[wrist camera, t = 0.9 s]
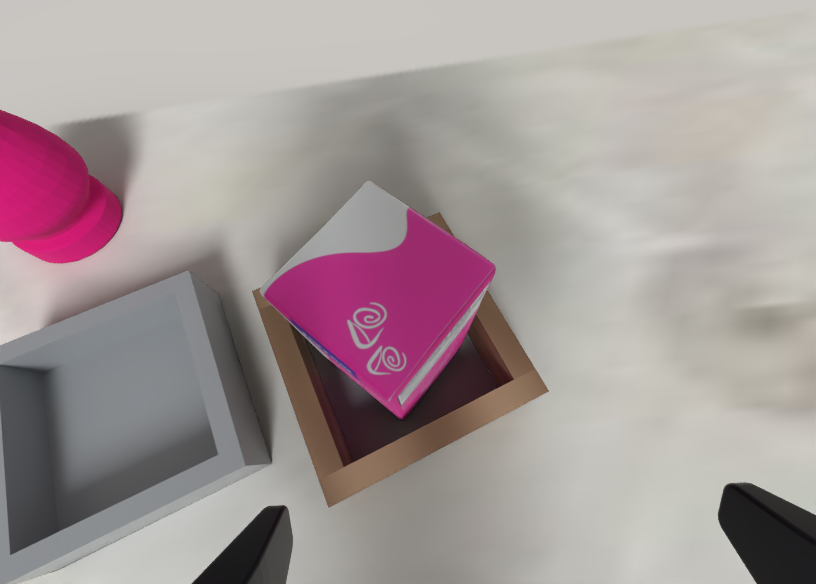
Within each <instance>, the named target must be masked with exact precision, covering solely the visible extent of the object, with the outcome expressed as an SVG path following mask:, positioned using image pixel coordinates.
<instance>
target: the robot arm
mask: <svg viewBox="0 0 816 584" xmlns="http://www.w3.org/2000/svg"><path fill="white" fill-rule="evenodd" d="M718 520H719V523H720V525H721V528H722V529H723V531H724V533H725V534H726V536H727V537H728V539H729V541H730V542H731V544H732V545H733V547H734V548H735V550H736V552H737V553H738V555H739V556H740V558H741V560H742V561H743V563H744V564H745V566H746V567H747V569H748V571H749V572H750V574H751V575H752V577H753V579H754V580H755V582H756V583H757V584H816V515H814V514H812V513H810V512H808V511H806V510H804V509H802V508H800V507H798V506H796V505H794V504H792V503H790V502H788V501H786V500H784V499H782V498H780V497H778V496H776V495H774V494H772V493H770V492H768V491H766V490H764V489H762V488H759V487H757V486H755V485H753V484H751V483H729V484H727V485H726V486H725V487H724V490H723V494H722V498H721V502H720V507H719V511H718ZM292 546H293V535H292V529H291V523H290V517H289V511H288V508H287V507H286V506H284V505H280V506H268V507H266V508H264V509H263V510H262V511H261V512H260V513H259V514H258V515H257V516H256V517H255V518H254V520H253V521H252V522H251V523H250V524H249V525H248V526H247V527H246V528H245V529H244V530H243V531H242V532H241V533H240V534H239V535H238V536H237V537H236V538H235V539H234V540H233V541H232V542H231V543H230V544H229V545H228V547H227V548H226V549H225V550H224V551H223V552H222V553H221V554H220V555H219V556H218V557H217V558H216V559H215V560H214V561H213V562H212V563H211V564H210V565H209V566H208V567H207V568H206V569H205V570H204V571H203V573H202V574H201V575H200V576H199V577H198V578H197V579H196V580H195V581H194V582H193V583H192V584H286V579H287V574H288V569H289V563H290V558H291V553H292Z"/></svg>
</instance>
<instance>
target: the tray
mask: <svg viewBox="0 0 816 584" xmlns="http://www.w3.org/2000/svg"><path fill="white" fill-rule="evenodd" d="M270 464H272V463H271V460H270V457H269V454H268V450H267V447H266V444H265V441H264V438H263V435H262V431H261V428H260V425H259V422H258V419H257V416H256V412H255V409H254V406H253V403H252V400H251V396H250V393H249V390H248V387H247V384H246V381H245V377H244V374H243V371H242V368H241V365H240V362H239V358H238V355H237V352H236V349H235V346H234V343H233V339H232V336H231V333H230V330H229V327H228V324H227V320H226V317H225V314H224V311H223V308H222V304H221V301H220V298H219V295H218V293H216V292H215V291H214V290H213V289H212V288H210V287H209V286H208V285H207V284H205V283H204V282H203V281H202V280H200V279H199V278H198V277H197V276H196V275H194V274H193V273H192V272H191V271H189V270H187V271H185V272H182V273H180V274H177V275H175V276H172V277H170V278H167V279H165V280H162V281H160V282H157V283H155V284H152V285H150V286H147V287H145V288H142V289H140V290H137V291H135V292H132V293H130V294H127V295H125V296H122V297H120V298H117V299H115V300H112V301H110V302H107V303H105V304H103V305H100V306H98V307H95V308H93V309H90V310H88V311H85V312H83V313H80V314H78V315H75V316H73V317H70V318H68V319H65V320H63V321H60V322H58V323H55V324H53V325H50V326H48V327H45V328H43V329H40V330H38V331H35V332H33V333H30V334H28V335H25V336H23V337H20V338H18V339H15V340H13V341H10V342H8V343H5V344H3V345H0V584H17V583H20V582H23V581H26V580H29V579H32V578H36V577H39V576H42V575H45V574H48V573H51V572H54V571H57V570H59V569H61V568H63V567H65V566H67V565H69V564H71V563H73V562H75V561H77V560H79V559H81V558H83V557H85V556H87V555H90V554H92V553H94V552H96V551H98V550H100V549H102V548H104V547H106V546H108V545H110V544H112V543H114V542H116V541H118V540H120V539H122V538H124V537H126V536H128V535H130V534H132V533H134V532H136V531H138V530H140V529H142V528H144V527H146V526H148V525H150V524H152V523H154V522H156V521H158V520H160V519H162V518H164V517H166V516H168V515H170V514H172V513H174V512H176V511H178V510H180V509H182V508H184V507H186V506H188V505H190V504H192V503H194V502H196V501H198V500H200V499H202V498H204V497H206V496H208V495H210V494H212V493H214V492H216V491H218V490H220V489H222V488H224V487H226V486H228V485H230V484H232V483H234V482H236V481H238V480H240V479H242V478H244V477H246V476H248V475H250V474H252V473H254V472H256V471H258V470H260V469H262V468H264V467H266V466H268V465H270Z"/></svg>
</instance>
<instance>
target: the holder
mask: <svg viewBox="0 0 816 584" xmlns="http://www.w3.org/2000/svg"><path fill="white" fill-rule="evenodd" d="M427 219H429V220H430V221H432V222H433V223H435V224H436V225H438V226H439V227H441V228H442V229H444V230H445V231H447V232H448V233H449V234H451V235H452V236H454V235H453V234H452V232H451V230H450V229H449V227H448V226H447V224H446V222H445V221H444V219H443V217H442V216H441V214H440V212H439V213H437V214H435V215H432V216H430V217H427ZM260 289H261V288H259V289H256V290H254V291H252V292H253V295H254V298H255V301H256V304H257V306H258V309H259V312H260V315H261V318H262V321H263V323H264V326H265V329H266V332H267V335H268V338H269V340H270V343H271V346H272V349H273V352H274V355H275V357H276V360H277V363H278V366H279V369H280V372H281V374H282V377H283V380H284V383H285V386H286V388H287V391H288V394H289V397H290V400H291V403H292V405H293V408H294V411H295V414H296V417H297V420H298V422H299V425H300V428H301V431H302V434H303V437H304V439H305V442H306V445H307V448H308V451H309V454H310V456H311V459H312V462H313V465H314V468H315V471H316V473H317V476H318V479H319V482H320V485H321V488H322V490H323V493H324V496H325V499H326V502H327V505H328V507H331V506H333V505H335V504H337V503H338V502H340V501H342V500H344V499H346V498H348V497H350V496H352V495H354V494H355V493H357V492H359V491H361V490H363V489H365V488H367V487H369V486H371V485H372V484H374V483H376V482H378V481H380V480H382V479H384V478H386V477H388V476H389V475H391V474H393V473H395V472H397V471H399V470H401V469H403V468H405V467H407V466H408V465H410V464H412V463H414V462H416V461H418V460H420V459H422V458H424V457H425V456H427V455H429V454H431V453H433V452H435V451H437V450H439V449H441V448H442V447H444V446H446V445H448V444H450V443H452V442H454V441H456V440H458V439H459V438H461V437H463V436H465V435H467V434H469V433H471V432H473V431H475V430H476V429H478V428H480V427H482V426H484V425H486V424H488V423H490V422H492V421H493V420H495V419H497V418H499V417H501V416H503V415H505V414H507V413H509V412H510V411H512V410H514V409H516V408H518V407H520V406H522V405H524V404H526V403H527V402H529V401H531V400H533V399H535V398H537V397H539V396H541V395H543V394H544V393H546V392H548V391H549V390H548V389H547V387H546V385H545V384H544V382H543V381H542V379H541V377H540V376H539V374H538V372H537V371H536V369H535V368H534V366H533V364H532V363H531V361H530V359H529V358H528V356H527V354H526V353H525V351H524V350H523V348H522V346H521V345H520V343H519V341H518V340H517V338H516V337H515V335H514V333H513V332H512V330H511V328H510V327H509V325H508V323H507V322H506V320H505V319H504V317H503V315H502V314H501V312H500V310H499V309H498V307H497V306H496V304H495V302H494V301H493V299H492V297H491V296H490V294H489V292H488V291H486V293H485V295H484V297H483V299H482V302H481V304H480V306H479V308H478V310H477V313H476V315H475V317H474V319H473V321H472V323H471V325H470V327H469V330H468V332H467V333H468V335H469V337H470V339H471V340H472V342H473V344H474V346H475V347H476V349H477V351H478V353H479V355H480V356H481V358H482V360H483V362H484V363H485V365H486V367H487V369H488V370H489V372H490V374H491V376H492V378H493V379H494V381H495V383H496V385H497V386H498V388H497V389H495V390H493V391H491V392H489V393H487V394H485V395H483V396H481V397H479V398H478V399H476V400H474V401H472V402H470V403H468V404H466V405H464V406H462V407H460V408H458V409H456V410H454V411H452V412H450V413H448V414H446V415H445V416H443V417H441V418H439V419H437V420H435V421H433V422H431V423H429V424H427V425H425V426H423V427H421V428H419V429H417V430H415V431H413V432H412V433H410V434H408V435H406V436H404V437H402V438H400V439H398V440H396V441H394V442H392V443H390V444H388V445H386V446H384V447H382V448H380V449H378V450H377V451H375V452H373V453H371V454H369V455H367V456H365V457H363V458H361V459H359V460H357V461H355V462H353V460H352V457H351V454H350V452H349V449H348V447H347V444H346V442H345V439H344V437H343V434H342V432H341V429H340V426H339V424H338V421H337V419H336V416H335V414H334V411H333V409H332V406H331V403H330V401H329V398H328V396H327V393H326V391H325V388H324V386H323V383H322V380H321V378H320V375H319V373H318V370H317V368H316V365H315V363H314V360H313V357H312V355H311V352H310V350H309V347H308V345H307V342H306V340H305V337H304V336H303V335H302V334H301V333H300V332H299V331H298V330H297V329H296V328H295V327H294V326H293V325H292V324H291V323H290V322H289V321H288V320H287V319H286V318H285V317H284V316H283V315H282V314H281V313H279V312H278V311H277V310H276V309H275V308H274V307H273V306H272V305H271V304H270V303H269V302H268V301H267V300H266V299H265V298H264V297H263V296H262V295H261V294H260Z"/></svg>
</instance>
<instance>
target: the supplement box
mask: <svg viewBox="0 0 816 584" xmlns="http://www.w3.org/2000/svg"><path fill="white" fill-rule="evenodd" d="M495 271H496V266H495V265H494V264H493V263H491V262H490V261H489V260H487V259H486V258H485V257H483V256H482V255H480V254H479V253H477V252H476V251H474V250H473V249H472V248H470V247H469V246H467V245H466V244H464V243H463V242H461V241H460V240H458V239H457V238H455V237H454V236H452V235H451V234H449V233H448V232H447V231H445V230H444V229H442V228H441V227H439V226H438V225H436V224H435V223H433V222H432V221H430V220H429V219H427V218H425V217H424V216H423V215H421V214H420V213H418V212H417V211H415V210H414V209H412V208H410V207H409V206H408V205H406V204H405V203H403V202H401V201H400V200H398V199H397V198H395V197H394V196H392V195H390V194H389V193H388V192H386V191H385V190H383V189H382V188H380V187H379V186H377V185H376V184H374V183H373V182H371V181H370V180H368V181H366V182H365V183H364V184H363V185H362V186H361V188H360V189H359V190H358V191H357V192H356V193H355V194H354V195H353V196H352V197H351V198H350V199H349V200H348V201H347V202H346V203H345V204H344V205H343V206H342V207H341V208H340V210H339V211H338V212H337V213H336V214H335V215H334V216H333V217H332V218H331V219H330V220H329V221H328V222H327V223H326V224H325V225H324V226H323V227H322V228H321V229H320V230H319V231H318V232H317V233H316V234H315V235H314V236H313V237H312V238H311V239H310V240H309V241H308V242H307V243H306V244H305V245H304V246H303V247H302V248H301V249H300V250H299V251H298V252H297V253H296V254H295V255H294V256H293V257H292V258H291V259H290V260H289V261H288V262H287V263H286V264H285V265H284V266H283V267H282V268H281V269H280V270H278V271H277V272H276V273H275V274H274V275H273V276H272V277H271V279H270V280H268V281H267V282H266V283H265V284H264V285H263V286H262V287H261V289H260V294H261V295H262V296H263V297H264V298H265V299H266V300H267V301H268V302H269V303H270V304H271V305H272V306H273V307H274V308H275V309H276V310H277V311H278V312H279V313H281V314H282V315H283V316H284V317H285V318H286V319H287V320H288V321H289V322H290V323H291V324H292V325H293V326H294V327H295V328H296V329H297V330H298V331H299V332H300V333H301V334H302V335H303V336H304V337H305V338H306V339H307V340H308V341H309V342H310V343H311V344H312V345H314V346H315V347H316V348H317V349H318V350H319V351H320V352H321V353H322V354H323V355H324V356H325V357H326V358H327V359H328V360H329V361H331V362H332V363H333V364H334V365H336V366H337V367H338V368H339V369H340V370H341V371H343V372H344V373H345V374H346V375H347V376H349V377H350V378H351V379H352V380H353V381H355V382H356V383H357V384H358V385H359V386H361V387H362V388H363V389H364V390H365V391H367V392H368V393H369V394H370V395H372V396H373V397H374V398H375V399H376V400H378V401H379V402H380V403H381V404H382V405H384V406H385V407H386V408H387V409H388V410H389V411H391V412H392V413H393V414H394V415H395V416H396V417H398V418H399V419H400V420H401V421H404V420H405V419H406V417H407V416H408V415H409V414H410V412H411V411H412V410H413V409H414V407H415V406H416V405H417V403H418V402H419V401H420V400H421V398H422V397H423V396H424V394H425V393H426V392H427V391H428V389H429V388H430V387H431V386H432V384H433V383H434V382H435V380H436V379H437V378H438V376H439V375H440V374H441V372H442V371H443V370H444V369H445V367H446V366H447V365H448V363H449V362H450V361H451V359H452V358H453V357H454V355H455V354H456V353H457V351H458V350H459V349H460V347H461V345H462V343H463V341H464V338H465V336H466V334H467V332H468V330H469V327H470V325H471V323H472V321H473V319H474V317H475V315H476V313H477V310H478V308H479V306H480V304H481V302H482V299H483V297H484V295H485V293H486V291H487V289H488V287H489V285H490V283H491V281H492V278H493V276H494V274H495Z"/></svg>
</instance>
